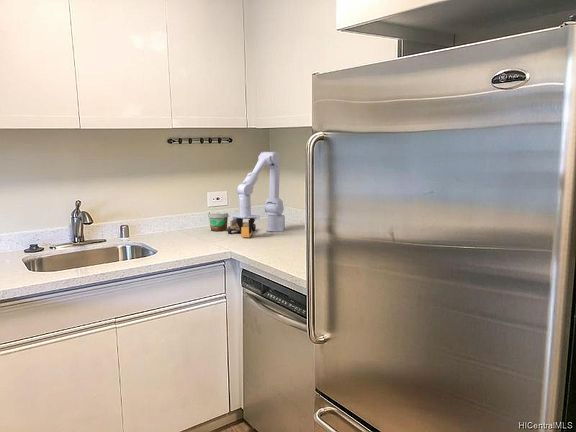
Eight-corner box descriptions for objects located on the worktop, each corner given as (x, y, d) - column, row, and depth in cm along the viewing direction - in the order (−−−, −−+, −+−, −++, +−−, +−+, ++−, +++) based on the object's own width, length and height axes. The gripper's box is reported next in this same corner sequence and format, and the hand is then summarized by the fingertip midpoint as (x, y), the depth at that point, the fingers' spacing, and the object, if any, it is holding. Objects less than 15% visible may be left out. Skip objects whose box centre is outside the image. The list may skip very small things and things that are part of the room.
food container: (204, 231, 258) (203, 213, 256) (209, 229, 264) (208, 212, 262) (224, 232, 254) (224, 214, 253) (229, 230, 260) (228, 212, 258)
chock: (252, 234, 246) (252, 224, 246) (249, 237, 239) (248, 227, 238) (245, 233, 247) (245, 224, 246) (241, 237, 239) (241, 227, 238)
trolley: (255, 230, 260) (255, 217, 259) (250, 234, 247) (249, 222, 246) (234, 229, 262) (233, 217, 261) (227, 234, 249) (227, 221, 248)
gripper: (229, 208, 235) (230, 234, 238) (257, 208, 233) (257, 234, 235) (233, 206, 242) (234, 231, 245) (260, 206, 240) (260, 231, 242)
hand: (245, 232), depth 240 cm, fingers closed on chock, 4 cm apart
